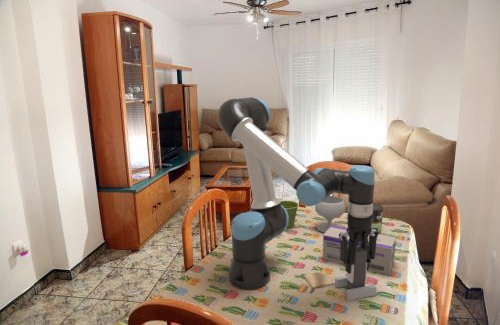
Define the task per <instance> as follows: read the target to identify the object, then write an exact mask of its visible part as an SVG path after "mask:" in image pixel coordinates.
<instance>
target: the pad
mask: <svg viewBox="0 0 500 325" xmlns="http://www.w3.org/2000/svg"><path fill="white" fill-rule="evenodd" d="M302 277H304V279H305V280H306V281H307V283H308V284H309V285H310V287H311V288H312V289H317V288H323V287H329V286H335V281H333V280H332V279H331V277H329V276H328V274H327V273H325V272H324V271H318V272H312V273H311V272H310V273H306V274H303V276H302Z"/></svg>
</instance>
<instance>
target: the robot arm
mask: <svg viewBox="0 0 500 325" xmlns="http://www.w3.org/2000/svg"><path fill="white" fill-rule="evenodd" d="M270 119H271V111H270V107H269V105H268V104H267V103H266V102H265V101H264V100H262V98H257V97H253V96H252V97H242V98H229V99H228V100H226V101H224V102H223V103H222V104H221V105H220V107H219V109H218V111H217V123H218V126H219V127H220V129H221V130H222V132H223V133H225V135H226V136H227V137H228V138H230V139H231V140H232V142H239V143H240V144H241V145H242V146H243V151H244V157H245V161H246V162H245V163H246V168H247V172H248V179H249V184H250V188H251V189H250V190H251V194H252V200H253V202H252V203H251V205H250V210H251V211H247V212H241V213H239V214H237V215H236V216H235V217H233V219H232V221H231V228H230V232H231V233H230V234H231V249H232V259H231V264H230V267H229V270H228V282H230V284H231V285H232V286H234V287H236V288H238V289H241V290H242V289H243V290H256V289H260V288H262V287H264V286H266V285H267V284H268V283H269V282H270V280H271V270H270V267H269V264H268V261H267V259H266V245H267V244H268V243H269V242H270V241H272V240H273V239H275V238H277V237H278V236H280V235H281V234H282V233H283V232H284V231H285V230H286V229H288V228H287V226H288V222H289V216H288V213H287V211H286V209H284V207H283V206H282V205H281V202H280V201H281V200H280V199H278V198H277V197H276V192H275V186H274V181H273V177H272V171H273V172H274V173H275V174H276V175H277V176H278V177H280V178H281V179H282V180H284V182H286V183H287V184H288V185H290V186H291V187H292V188H293V189H294V190H295V193H296V197H297V200H298V201H299V202H300V203H301V204H302V205H304V206H306V207H315V205H316V204H318V203H321V202H322V201H323V200H324V199H325V198H327V197H328V196H332V194H340V195H347V197H348V198H347V200H348V202H347V203H348V204H347V221H346V223H347V227H346V228H347V230H346V233H344V234H341V233H340V234H339V238H340V260H341V261H342V262H343V263H344V264H346V265H345V272H346V273H347V275H346V276H347V279H348V280H349V281H350V282H351V283H353V279H354V264H353V263H352V262H353V258H354V254H355V250H356V246H358V242H360V243H361V247H363V248H364V249H366V250H367V260H366V273H367V271H369V270H368V268H369V263H371V259H374V258H375V251H376V241H377V237H378V234H379V232H378V231H376V230H375V229H371V226H372V213H373V203H374V194H375V192H374V191H375V184H376V181H375V179H376V178H375V174H376V173H375V169H374V168H373V167H371V166H368V165H363V164H362V165H360V164H359V165H357V164H355V165H351V166H350V168H349V170H341V169H340V170H339V169H333V168H327V167H317V168H316V169H314V172H313V171H311V169H310V168H308V167H306V166H305V165H304V164H303V163H302V162H300V161H299V160H298V159H297V158H296V157H295V156H293V155H292V154H290V152H288V150H286V149H285V148H283V147H282V146H281V145H280V144H278V143H277V142H276V141H275V140H274V139H273V138H271V136H269V135H268V134H267V133H268V132H269V131H268V123H269V121H270ZM348 236H349V246H348V243H347V240H348ZM368 236H369V243H368ZM344 264H343V265H344ZM366 280H367V275H366V276H365V282H366Z"/></svg>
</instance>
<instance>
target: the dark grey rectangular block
mask: <svg viewBox="0 0 500 325" xmlns="http://www.w3.org/2000/svg"><path fill="white" fill-rule="evenodd" d="M366 260H367V250H366V249H364V248H363V247H361V245H358V246H356V250H355V254H354V258H353V262H352V263H353V264H354V279H353V283H351V282H350V281H349V280H348V285H349V287H350V289H354V288H359V287H364V286H366V281H365V276H366V277H367V272H366Z"/></svg>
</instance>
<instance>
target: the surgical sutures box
mask: <svg viewBox="0 0 500 325" xmlns="http://www.w3.org/2000/svg"><path fill="white" fill-rule="evenodd" d="M347 228H348V227H342V226H341V227H338V226H333V225H331V227H330V228H329V229H328V230H327V231H326V232H325V233H323V240H322V242H323V243H322V260H324V261H328V262H332V263H336V264H340V265H341V264H342V265H345V266H346V264H344V263H343V262H342V261H341V260H340V238H339V234H340V233H341V234H344V233H346V230H347ZM396 241H397V237H396V236H391V235H386V234H382V233H381V234H378V237H377V241H376V251H375V258H374V259H371V263H369V268H368V270H367V271H370V272H373V273H379V274H382V275H386V276H391V273H392V270H393V266H394V263H395V253H396V244H397V243H396ZM347 243H348V246H349V236H348V240H347ZM368 243H369V236H368ZM358 245H361V243H360V242H358Z"/></svg>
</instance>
